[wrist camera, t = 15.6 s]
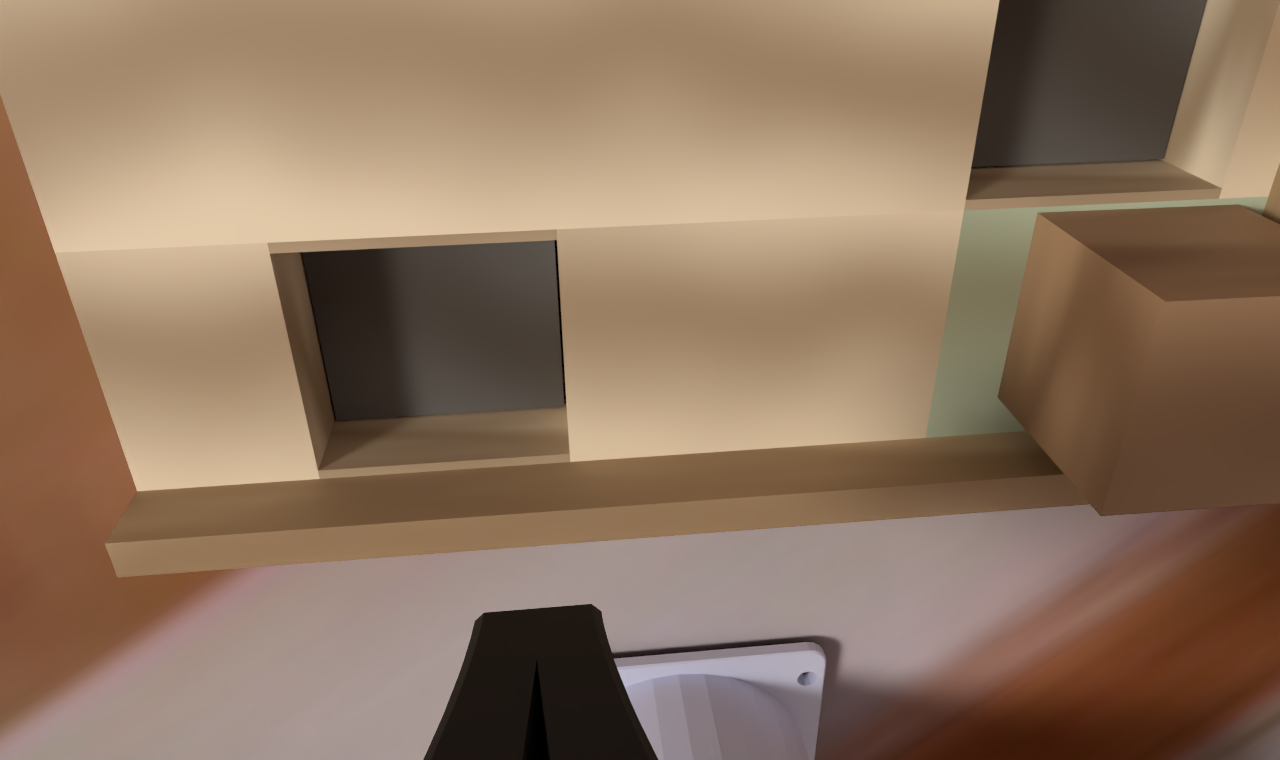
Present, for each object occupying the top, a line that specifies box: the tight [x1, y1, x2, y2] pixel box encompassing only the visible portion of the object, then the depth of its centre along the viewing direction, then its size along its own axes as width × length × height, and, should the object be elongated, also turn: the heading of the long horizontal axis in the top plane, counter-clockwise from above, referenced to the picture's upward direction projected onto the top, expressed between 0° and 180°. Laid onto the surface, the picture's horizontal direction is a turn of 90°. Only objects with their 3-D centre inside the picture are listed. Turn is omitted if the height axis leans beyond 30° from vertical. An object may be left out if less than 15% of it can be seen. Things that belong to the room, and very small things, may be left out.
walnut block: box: [998, 204, 1280, 516], centre depth 17 cm, size 4×4×4 cm
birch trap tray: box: [0, 0, 1280, 577], centre depth 17 cm, size 11×23×4 cm, turn 91°
